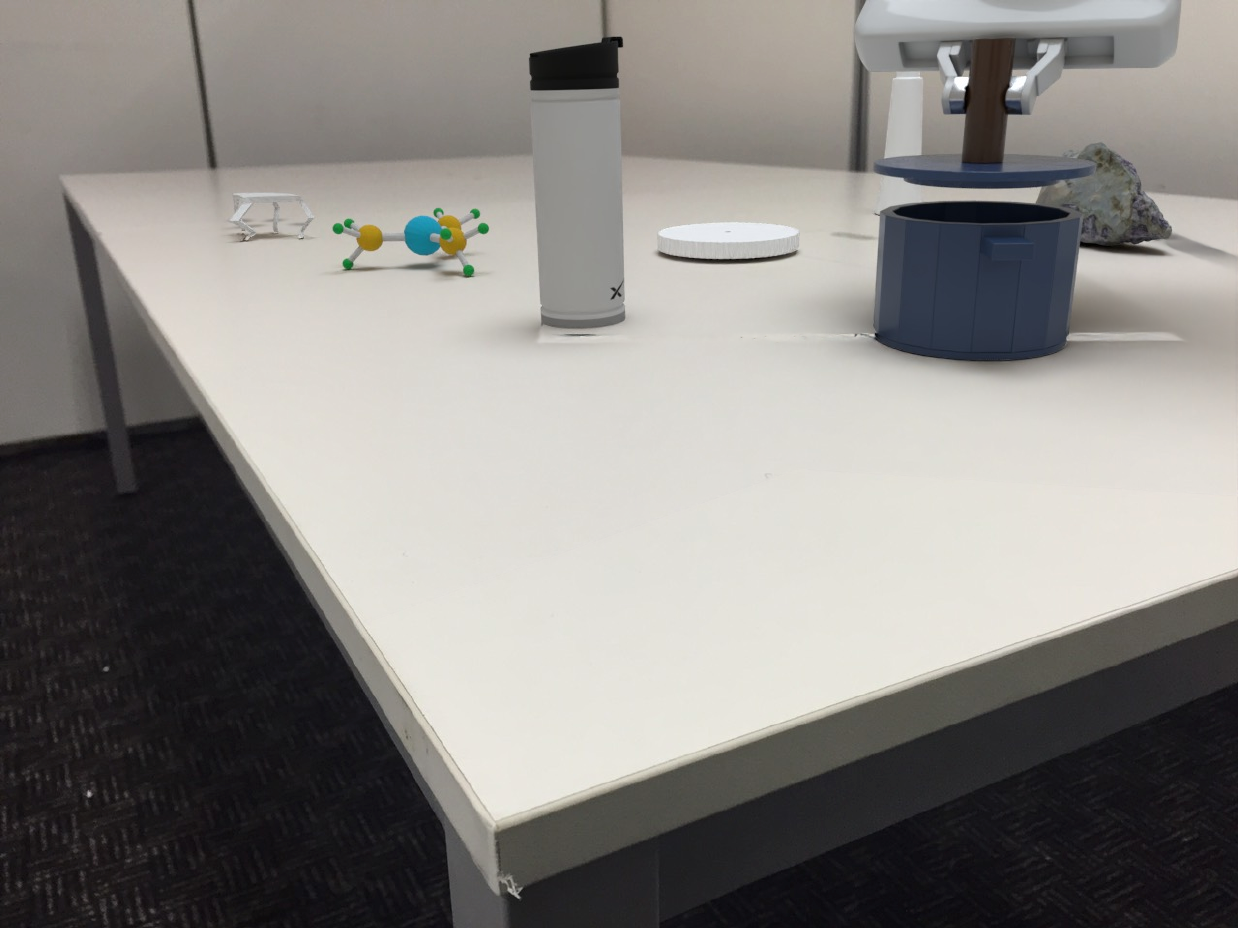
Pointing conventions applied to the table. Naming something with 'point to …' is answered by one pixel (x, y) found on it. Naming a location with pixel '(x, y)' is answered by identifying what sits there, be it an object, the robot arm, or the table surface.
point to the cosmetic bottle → (903, 138)
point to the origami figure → (252, 198)
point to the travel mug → (578, 184)
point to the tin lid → (986, 137)
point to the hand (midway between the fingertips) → (985, 108)
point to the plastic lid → (728, 240)
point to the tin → (976, 278)
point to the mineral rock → (1108, 200)
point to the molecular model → (417, 236)
